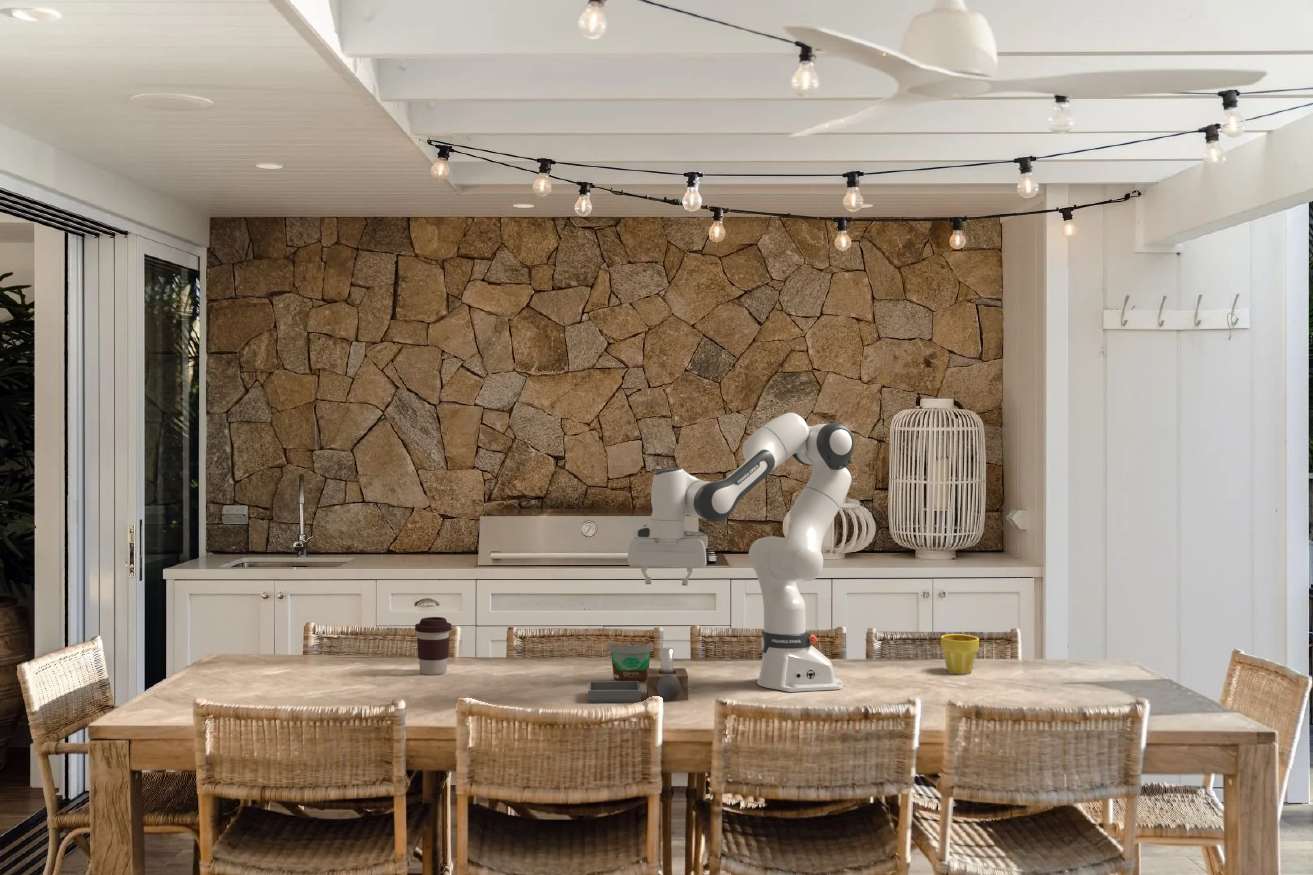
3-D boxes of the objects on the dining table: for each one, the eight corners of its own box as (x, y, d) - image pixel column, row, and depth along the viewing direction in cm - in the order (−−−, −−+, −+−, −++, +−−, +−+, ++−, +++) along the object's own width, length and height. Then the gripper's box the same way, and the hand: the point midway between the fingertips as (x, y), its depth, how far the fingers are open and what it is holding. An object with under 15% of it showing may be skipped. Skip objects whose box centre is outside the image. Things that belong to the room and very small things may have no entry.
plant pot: (969, 677, 331) (970, 641, 330) (934, 672, 337) (934, 637, 337) (984, 671, 339) (984, 636, 339) (949, 666, 345) (950, 632, 345)
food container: (613, 684, 319) (613, 646, 319) (608, 679, 325) (608, 642, 325) (658, 681, 323) (658, 644, 322) (652, 677, 328) (652, 640, 328)
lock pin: (672, 686, 308) (673, 647, 308) (673, 689, 305) (673, 649, 305) (660, 686, 308) (660, 647, 308) (661, 689, 305) (661, 649, 304)
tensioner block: (685, 691, 312) (685, 666, 312) (688, 701, 300) (688, 675, 300) (646, 691, 311) (646, 666, 311) (648, 701, 299) (648, 675, 299)
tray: (639, 692, 309) (639, 681, 309) (640, 702, 298) (640, 690, 298) (588, 693, 309) (588, 681, 309) (588, 702, 298) (588, 690, 298)
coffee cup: (455, 669, 337) (455, 616, 337) (445, 676, 328) (445, 621, 327) (420, 668, 338) (421, 615, 338) (410, 675, 328) (410, 621, 328)
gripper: (708, 530, 310) (707, 584, 310) (629, 528, 312) (628, 581, 312) (708, 532, 304) (706, 587, 304) (627, 530, 305) (626, 585, 305)
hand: (666, 584), depth 308 cm, fingers open, 8 cm apart
